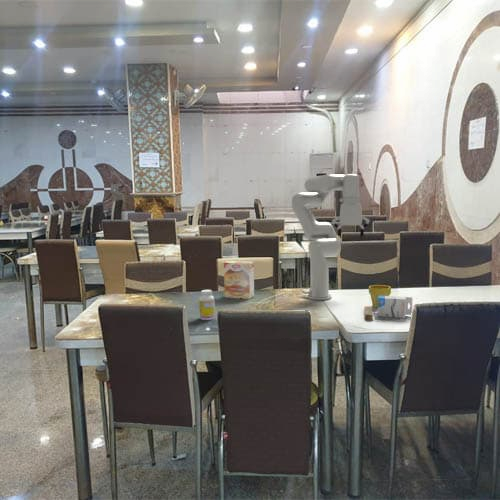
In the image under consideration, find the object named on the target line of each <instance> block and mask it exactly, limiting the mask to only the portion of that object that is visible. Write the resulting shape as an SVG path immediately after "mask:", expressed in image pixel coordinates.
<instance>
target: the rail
mask: <svg viewBox="0 0 500 500" xmlns="http://www.w3.org/2000/svg"><path fill="white" fill-rule="evenodd" d="M363 311H364V317H365V318H364V321H373V318H374V317H373V316H374V313H373V308H372V306H364V310H363Z"/></svg>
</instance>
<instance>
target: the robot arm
mask: <svg viewBox="0 0 500 500" xmlns="http://www.w3.org/2000/svg"><path fill="white" fill-rule="evenodd" d="M304 188H305V190H306V191H305V192H302V191H301V192H298V193H295V194H294V195H293V196H292V198H291V208H292V212H293V213H294V215H295V217H296V218H297V219H298V221H299V222H300V225H301V229H302V230H303V233H304V235H305V237H306V239H308V240H310V241H309V244H308V255H309V260H310V263H309V264H310V268H309V270H310V272H309V273H310V275H309V276H310V288H308V289H301V290H302V291H301V294H304V295H307V299H309V300H313V301H314V300H315V301H326V300H327V301H328V300H331V299H332V295H331V294H329V291H330V290H329V288H330V287H329V285H330V284H329V282H330V281H329V278H330V277H329V275H330V273H329V263H328V260H327V259H326V257H331V256H332V257H333V256H338V255H339V254H340V253H341V249H342V245H341V242H340V241H341V240H340V238H342V229H341V228H342V227H343V226H359V227H360V230H359V231H360V232H359V233H360V234H359V235H360V238H361V239H362V238H363V237H364V234H365V233H364V230H365V228H366V227H367V226H368V225H369V224H370V222H371V220H370V219H369V218H368V217H366V216H364V215H363V210H362V209H363V208H362V203H360V175H359V174H356V173H349V174H324V175H318V176H311V177H309V178H307V179H306V180H305V182H304ZM332 191H342V198H339V202H341V203H342V204H340V208H339V216H337V217H335V218H333V219H332V220H331V222H332V224H333V225H332V224H331V223H330V222H327V221H317V218H316V217H315V215H314V214H313V212H311V210H309V208H311V209H312V208H320V207H321V206H323V205H324V204H325V202H326V199H327V198H328V197H329V194H330V192H332ZM363 220H364V221H365V223H364V224H363ZM337 221H339V224H338V223H337ZM334 227H335V228H336V229H337V233H336V231H335V228H334Z"/></svg>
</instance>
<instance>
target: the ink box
mask: <svg viewBox="0 0 500 500" xmlns="http://www.w3.org/2000/svg"><path fill="white" fill-rule="evenodd" d="M377 313H378V316H383V317H400V318H401V319H402V318H406V316H411V313H412V314H413V297H411V296H410V297H409V296H401V295H400V296H399V295H398V296H397V295H394V296H393V295H389V296H378V308H377Z"/></svg>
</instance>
